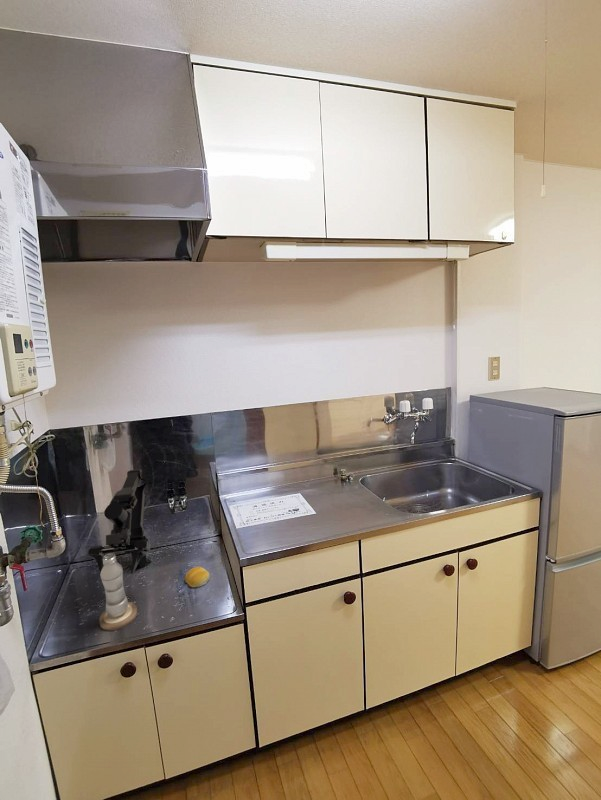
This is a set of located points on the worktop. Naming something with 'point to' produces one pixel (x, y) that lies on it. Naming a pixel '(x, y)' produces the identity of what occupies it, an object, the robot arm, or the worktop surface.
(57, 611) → the worktop surface
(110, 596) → the plastic bottle
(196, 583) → the bread roll
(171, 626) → the worktop surface
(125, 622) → the tan round plate
